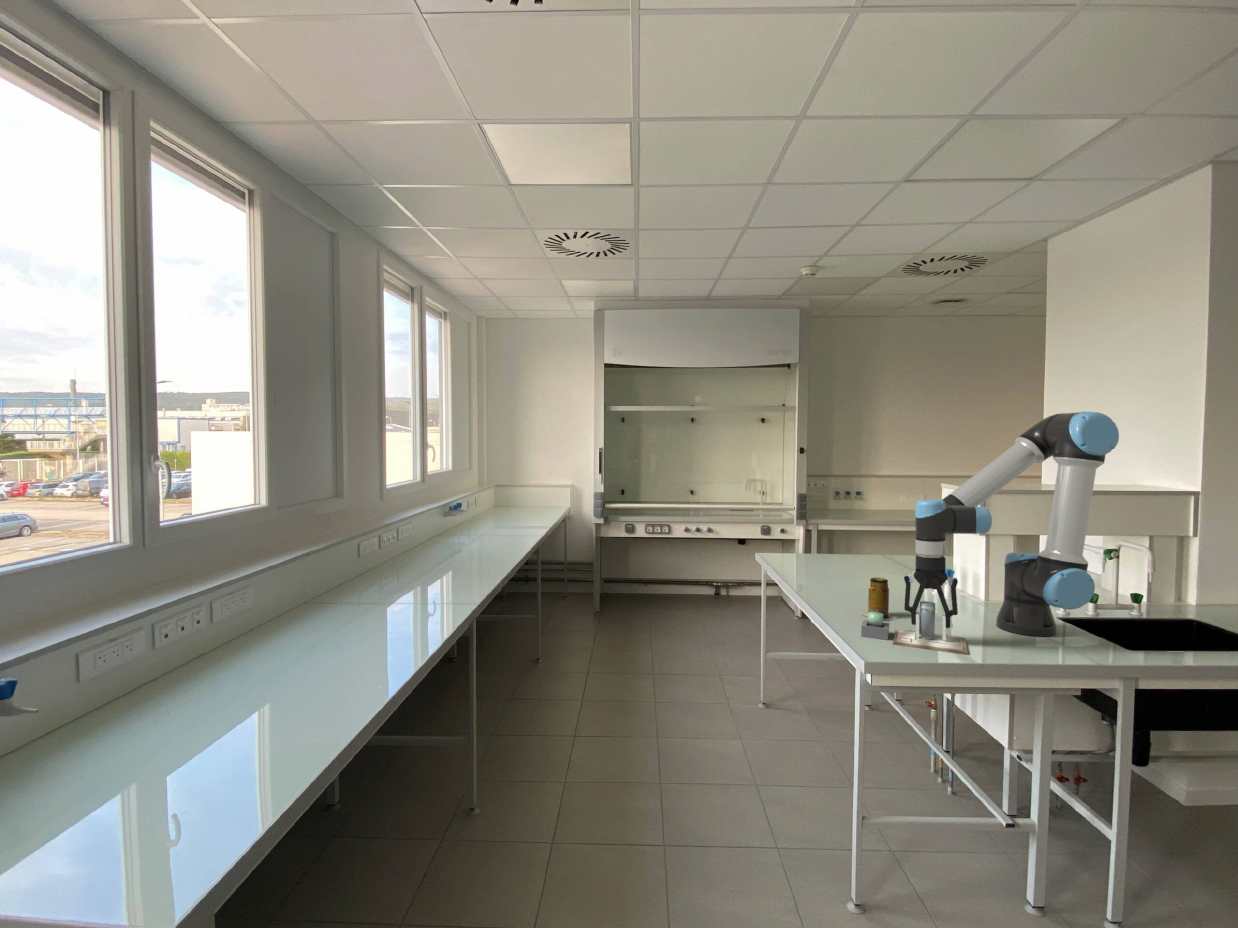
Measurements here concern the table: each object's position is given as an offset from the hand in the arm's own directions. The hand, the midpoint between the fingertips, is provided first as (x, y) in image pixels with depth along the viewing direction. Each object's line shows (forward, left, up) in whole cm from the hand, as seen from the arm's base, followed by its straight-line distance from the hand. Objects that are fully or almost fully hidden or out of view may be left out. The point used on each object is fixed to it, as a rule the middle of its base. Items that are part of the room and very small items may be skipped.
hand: (930, 637), depth 178 cm
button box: (+14, +1, -1) cm, 14 cm away
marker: (+1, 0, 0) cm, 1 cm away
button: (+14, +1, +2) cm, 14 cm away
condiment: (+14, -21, -1) cm, 26 cm away
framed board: (0, +1, -1) cm, 1 cm away
